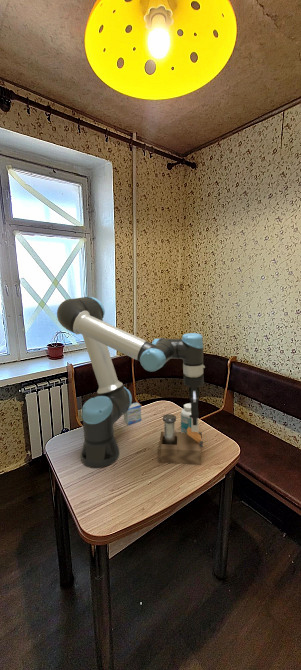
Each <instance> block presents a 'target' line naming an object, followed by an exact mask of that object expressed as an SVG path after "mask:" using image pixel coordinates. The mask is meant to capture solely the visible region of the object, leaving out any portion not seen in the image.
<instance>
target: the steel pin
mask: <svg viewBox="0 0 301 670" xmlns="http://www.w3.org/2000/svg"><path fill="white" fill-rule="evenodd" d="M162 420H163V422H164V432H165V444H169V445H175V432H176V431H175V423H176V421H177V416H176V415H174V414H171V413H169V414H164V415H163V416H162Z"/></svg>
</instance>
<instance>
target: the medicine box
mask: <svg viewBox="0 0 301 670" xmlns="http://www.w3.org/2000/svg"><path fill="white" fill-rule="evenodd" d="M141 421H142V406H141V404H140V403H139V402H133V403H131V406H130V408H129V409H128V411H127V412H126V413H125V414H123V422H124V423H125V424H126V425H128V426H130V425H134V424H135V423H139V422H141Z"/></svg>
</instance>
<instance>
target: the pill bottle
mask: <svg viewBox="0 0 301 670" xmlns="http://www.w3.org/2000/svg"><path fill="white" fill-rule="evenodd" d="M190 415H191V402H189V403H185V404H183V408H182V409H181V411H180V432H183V433H187V428H188V427H190V428H191V417H190Z"/></svg>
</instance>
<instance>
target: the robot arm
mask: <svg viewBox="0 0 301 670" xmlns="http://www.w3.org/2000/svg"><path fill="white" fill-rule="evenodd" d="M105 311H106V310H105V307H104V305H103V303H102V301H100V299H98V298H96V297H92V296H83V297H76V298H67V299H65V300H64V301H62V302H61V303H60V304H59V305H58V307H57V310H56V318H57V321H58V323H59V324H60V325H61V327H63V328H64V329H66V330H67V331H69V332H70V333H73V334H75V335H82V339H83V341H84V344H85V347H86V349H87V353H88V357H89V359H90V360H89V361H90V363H91V365H92V370H93V372H94V376H95V378H96V380H97V381H96V382H97V385H98V389H97V391H96V393H97V396H95V397H91V398H89V399H88V400H86V401H85V402H84V403H83V406H82V408H81V410H82V413H81V418H82V426H83V427H82V428H83V437H84V440H83V445H82V448H81V451H80V453H81V454H80V456H81V457H80V458H81V459H82V460H81V462H82V461H83V462H82V464H83V463H84V464H83V465H85V466H86V465H87V466H86V467H88V466H90V467H89V468H92V467H94V469H100V467H101V468H105V467H108V466H110V465H112V464H113V463H114V462H116V461H117V460H118V458H119V456H120V448H119V444H118V443H117V440H116V438H115V431H114V430H115V429H114V424H116V422H117V421H118V420H119V419H120V418H121V417H122V416H124V414H125V413H126V412H127V411H128V409H129V408H130V406H131V404H133V403H132V402H133V396H132V393H131V391H130V390H129V389H127V388H126V387H125V386H124V384H123V382H122V381H120V380H118V377H117V376H118V375H117V373H116V369H115V367H114V363H113V360H112V357H111V354H110V351H109V348H111V349H113V350H115V351H117V352H119V353H121V354H123V355H126V356H128V357H130V358H131V359H134V360H136V361H138V362H140V365H141V366H142V369H144V370H145V371H147V372H150V373H151V372H152V373H153V372H156V371H158V370H160V369H161V368H163V367H164V365H166V363H167V362H169V361H170V360H171V359H172V360H173V359H177V360H182V370H183V384H184V385H185V386H186V387H188V396H189V401H190V404H191V415H190V417H191V431H192V432H197V433H199V415H200V411H199V401H200V387H202V386H203V385H204V384H205V379H204V378H205V377H204V369H205V368H206V366H205V365H204V341H203V340H204V339H203V335H202V334H201V333H197V332H191V333H190V332H189V333H184V334H183V335H182V337H181V338H163V337H161V338H154V339H153V340H152V342H150V341H147V340H145V339H144V338H141V337H139V336H136V335H134V334H132V333H130V332H127V331H126V330H123V329H121V328H119V327H117V326H115V325H112V324H110V323H108V322H106V321H103V318H104V316H105ZM108 347H109V348H108Z"/></svg>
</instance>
